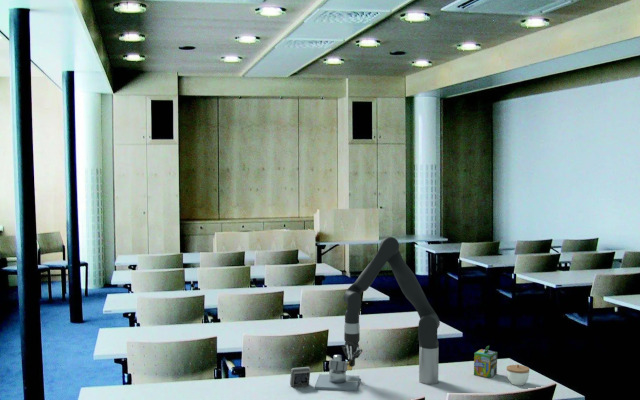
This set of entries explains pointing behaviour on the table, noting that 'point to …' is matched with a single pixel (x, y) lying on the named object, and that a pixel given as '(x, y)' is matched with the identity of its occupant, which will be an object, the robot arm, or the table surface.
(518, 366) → the lidded jar
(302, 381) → the electrical switch
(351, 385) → the base board
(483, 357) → the chalk box
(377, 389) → the table surface
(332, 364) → the coupling
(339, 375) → the post
